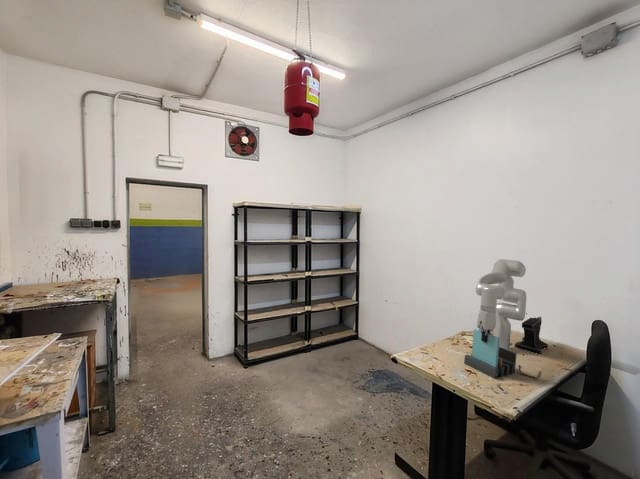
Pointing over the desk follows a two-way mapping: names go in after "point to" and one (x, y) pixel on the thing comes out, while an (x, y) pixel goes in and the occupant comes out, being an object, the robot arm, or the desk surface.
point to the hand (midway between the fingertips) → (485, 341)
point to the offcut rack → (490, 370)
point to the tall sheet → (485, 348)
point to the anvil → (531, 336)
